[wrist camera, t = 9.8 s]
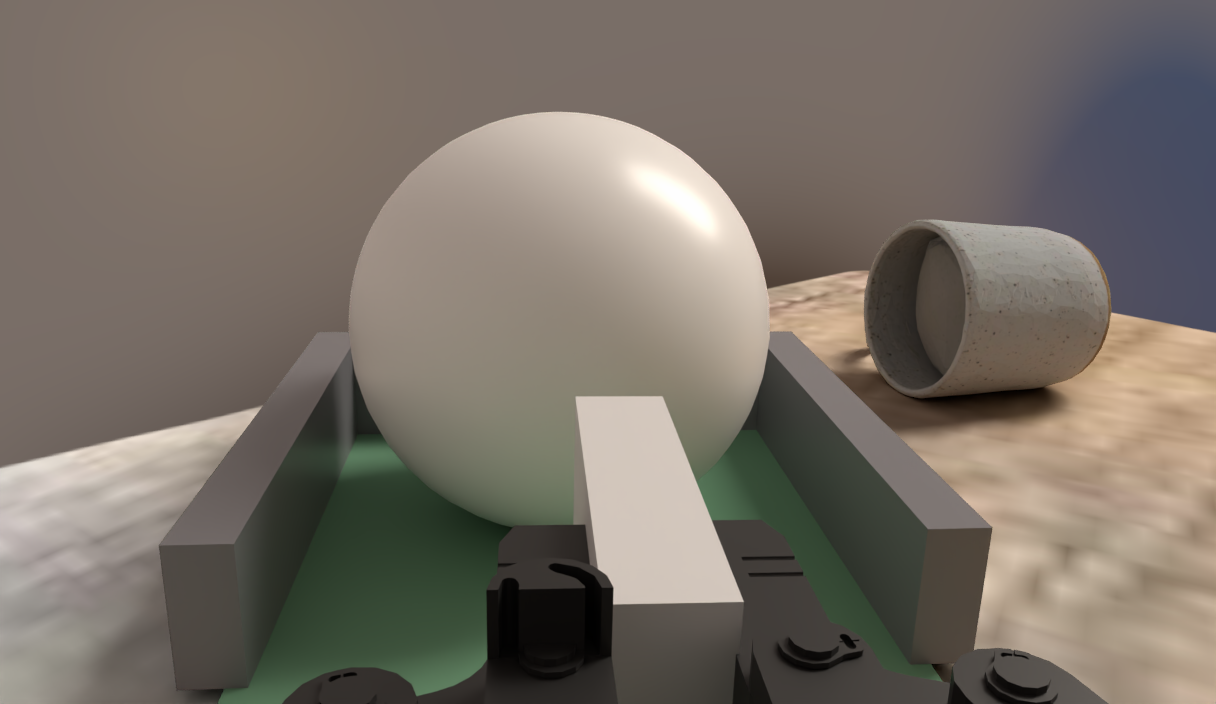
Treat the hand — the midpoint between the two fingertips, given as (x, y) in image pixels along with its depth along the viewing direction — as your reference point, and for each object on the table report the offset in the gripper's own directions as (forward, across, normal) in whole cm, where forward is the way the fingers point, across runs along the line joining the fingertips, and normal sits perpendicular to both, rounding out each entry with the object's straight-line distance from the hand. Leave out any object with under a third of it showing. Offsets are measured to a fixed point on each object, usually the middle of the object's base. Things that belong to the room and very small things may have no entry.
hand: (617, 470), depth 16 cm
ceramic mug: (+26, -18, +7) cm, 32 cm away
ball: (+12, +1, 0) cm, 12 cm away
